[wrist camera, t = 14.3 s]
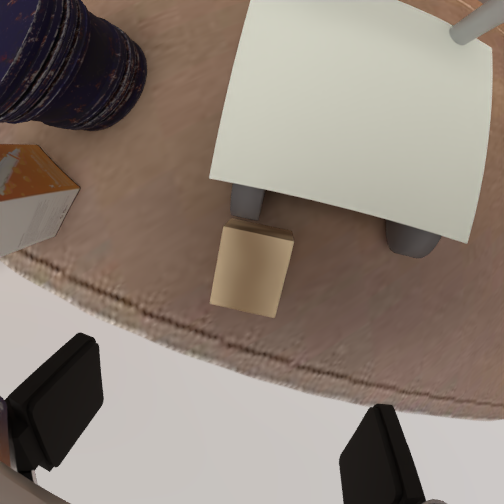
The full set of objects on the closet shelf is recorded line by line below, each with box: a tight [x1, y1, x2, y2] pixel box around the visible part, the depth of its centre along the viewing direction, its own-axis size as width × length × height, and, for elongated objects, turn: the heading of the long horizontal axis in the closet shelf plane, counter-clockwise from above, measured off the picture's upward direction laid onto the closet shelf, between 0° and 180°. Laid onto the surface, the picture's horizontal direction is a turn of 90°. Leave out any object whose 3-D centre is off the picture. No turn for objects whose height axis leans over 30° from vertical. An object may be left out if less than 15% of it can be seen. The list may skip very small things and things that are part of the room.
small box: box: [0, 144, 80, 257], centre depth 20 cm, size 8×6×13 cm
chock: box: [210, 218, 294, 318], centre depth 24 cm, size 5×6×4 cm
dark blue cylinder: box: [0, 0, 147, 131], centre depth 16 cm, size 10×10×15 cm
